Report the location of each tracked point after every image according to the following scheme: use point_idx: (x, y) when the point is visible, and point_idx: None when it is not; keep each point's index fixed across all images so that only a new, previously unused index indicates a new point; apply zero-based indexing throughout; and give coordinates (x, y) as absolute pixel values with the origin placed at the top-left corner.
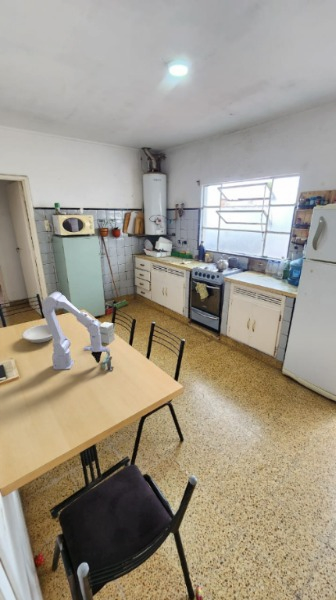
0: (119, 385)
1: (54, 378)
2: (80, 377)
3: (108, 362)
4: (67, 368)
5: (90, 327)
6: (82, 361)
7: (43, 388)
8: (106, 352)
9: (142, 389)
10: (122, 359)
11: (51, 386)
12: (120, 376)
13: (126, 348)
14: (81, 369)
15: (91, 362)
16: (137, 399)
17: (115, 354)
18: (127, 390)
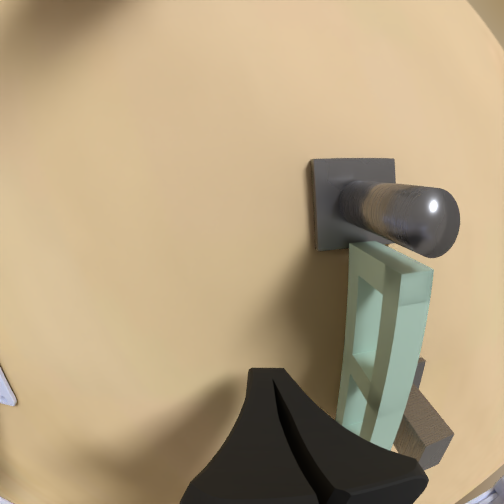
0: (429, 474)
1: (19, 459)
2: (163, 484)
3: (424, 465)
4: (3, 403)
5: None
6: (29, 286)
7: (42, 500)
8: (396, 235)
9: (498, 447)
10: (487, 216)
11: (61, 501)
12: (449, 427)
13: (465, 11)
14: (104, 415)
15: (136, 305)
16: (467, 484)
17: (410, 98)
18: (452, 476)
